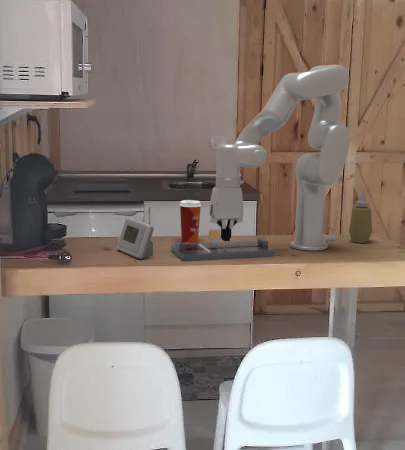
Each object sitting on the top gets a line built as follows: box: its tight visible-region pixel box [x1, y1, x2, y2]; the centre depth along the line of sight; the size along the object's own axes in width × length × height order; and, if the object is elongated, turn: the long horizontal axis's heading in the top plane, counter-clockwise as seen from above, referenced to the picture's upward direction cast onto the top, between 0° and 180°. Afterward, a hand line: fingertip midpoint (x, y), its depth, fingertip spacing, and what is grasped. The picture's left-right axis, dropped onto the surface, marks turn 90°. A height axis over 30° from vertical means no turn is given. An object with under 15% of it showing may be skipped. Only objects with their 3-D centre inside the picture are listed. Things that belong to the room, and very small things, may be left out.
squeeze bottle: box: [348, 190, 373, 244], centre depth 233 cm, size 8×8×18 cm
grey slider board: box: [170, 237, 275, 262], centre depth 211 cm, size 30×14×4 cm, turn 107°
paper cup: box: [179, 199, 202, 244], centre depth 228 cm, size 8×8×14 cm
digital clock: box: [116, 217, 155, 260], centre depth 208 cm, size 16×9×11 cm, turn 22°
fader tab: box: [208, 228, 221, 247], centre depth 210 cm, size 3×2×5 cm
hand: (225, 240), depth 211 cm, fingers closed
